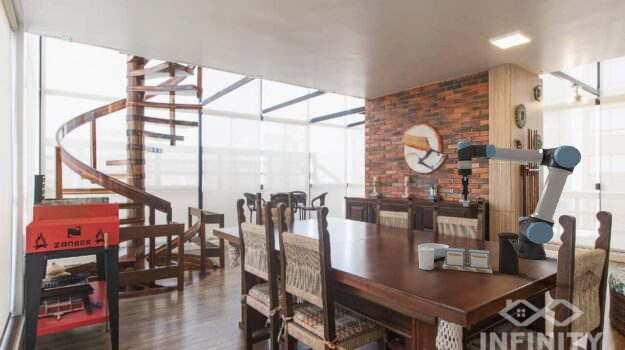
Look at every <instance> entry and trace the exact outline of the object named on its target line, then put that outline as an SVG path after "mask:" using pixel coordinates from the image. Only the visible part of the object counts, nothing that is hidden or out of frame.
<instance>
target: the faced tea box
mask: <svg viewBox="0 0 625 350" xmlns="http://www.w3.org/2000/svg"><path fill="white" fill-rule="evenodd" d="M490 259H491V257H490V250H483V249H482V250H481V249H471V248H469V249H468V263H469V267H470V268H481V269H490V265H491V263H490Z"/></svg>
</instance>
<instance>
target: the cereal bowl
mask: <svg viewBox="0 0 625 350" xmlns="http://www.w3.org/2000/svg"><path fill="white" fill-rule="evenodd" d="M420 247H428V248H433V249H434V260H440V259H441V258H445V248H450V246H449V245H448V244H443V243H433V242H429V243H427V242H426V243H420V244H418V246H417V249H418V248H420Z"/></svg>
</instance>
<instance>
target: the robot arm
mask: <svg viewBox="0 0 625 350" xmlns="http://www.w3.org/2000/svg"><path fill="white" fill-rule="evenodd" d="M456 150H457V162H456V165H457V168H458V169H457V176H462V178H461V179H460V180H461V185H462V192H461V195H462V206H463V207H469V193H470V191H469V189H468V188H469V182H470V178H468V176H472V175H473V169H472V168H473V158H474V159H477V160H492V161H505V162H517V163H531V164H537V166H544V167H546V169H547V170H548V174H547V176H546V179H545V181H544V184H543V187H542V190H541V193H540V195H539V198H538V201H537V204H536V207H535V210H534V212H533V213H532V214H530V215H529V216H520V217H518V235H519V238H518V258H522V259H527V260H528V259H530V260H545V259H546V258H547V253H546V250H545V248H544V244H546V243H549V242H550V241H551V240H552V239H553V237H554V229H553V228H554V226H555V224H556V223H555V220H554V215H555V213H556V209H557V207H558V204H559V201H560V198H561V196H562V193H563V190H564V187H565V185H566V181H567V179H568V177H569V176H570V175H573V173H574V171H575V167H577V166H578V165H579V163H580V162H581V161H582V154H581V152H580V150H579V149H578V148H577V147H575V146H573V145H561V146H557V147H550V148H539V149H529V148H528V149H527V148H526V149H523V148H511V147H496V145H495V144H494V143H487V144H472V141H459V142H457V149H456Z"/></svg>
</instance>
